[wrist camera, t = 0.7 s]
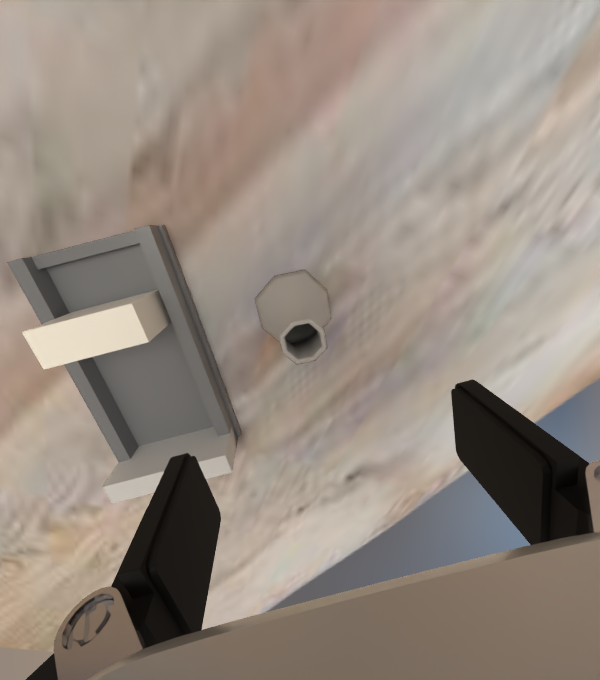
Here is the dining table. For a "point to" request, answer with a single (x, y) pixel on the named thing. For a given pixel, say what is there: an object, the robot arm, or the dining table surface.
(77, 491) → the dining table surface
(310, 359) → the flask
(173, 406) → the grey rectangular tray
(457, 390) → the robot arm
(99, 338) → the pusher
